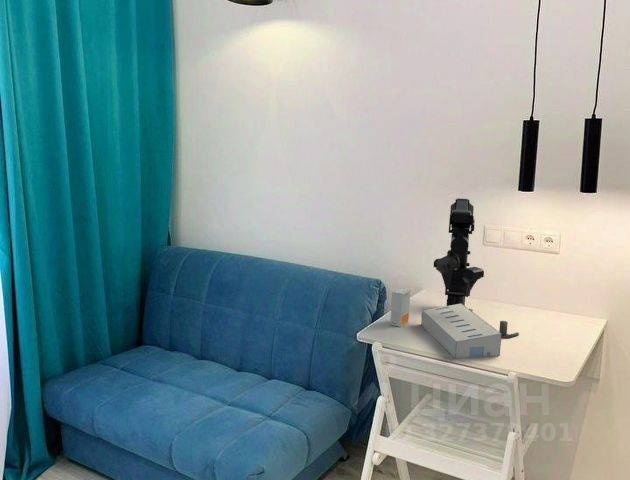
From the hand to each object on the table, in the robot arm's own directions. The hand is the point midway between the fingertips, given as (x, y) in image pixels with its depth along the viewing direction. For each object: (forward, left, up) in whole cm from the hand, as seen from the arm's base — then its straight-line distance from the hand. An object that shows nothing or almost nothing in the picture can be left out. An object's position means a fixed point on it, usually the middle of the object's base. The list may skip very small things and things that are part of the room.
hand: (456, 292), depth 206 cm
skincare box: (+15, -12, -12) cm, 23 cm away
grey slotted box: (+8, +9, -13) cm, 18 cm away
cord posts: (-8, +6, -12) cm, 16 cm away
